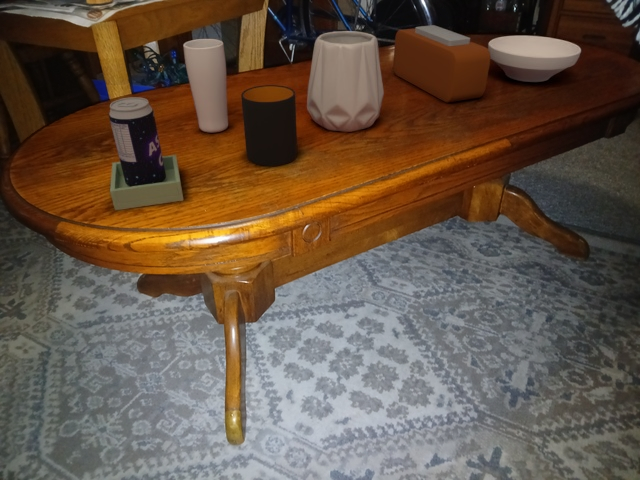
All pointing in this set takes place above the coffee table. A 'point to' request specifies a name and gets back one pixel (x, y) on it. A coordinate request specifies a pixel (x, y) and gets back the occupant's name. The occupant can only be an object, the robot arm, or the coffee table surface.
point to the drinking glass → (208, 82)
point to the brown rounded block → (441, 62)
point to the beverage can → (137, 141)
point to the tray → (146, 187)
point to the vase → (345, 81)
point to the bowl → (532, 56)
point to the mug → (270, 124)
